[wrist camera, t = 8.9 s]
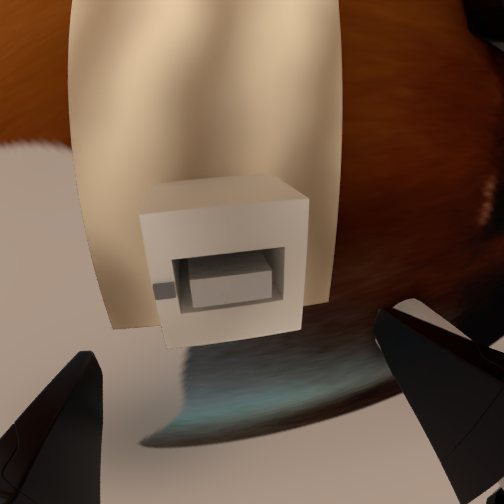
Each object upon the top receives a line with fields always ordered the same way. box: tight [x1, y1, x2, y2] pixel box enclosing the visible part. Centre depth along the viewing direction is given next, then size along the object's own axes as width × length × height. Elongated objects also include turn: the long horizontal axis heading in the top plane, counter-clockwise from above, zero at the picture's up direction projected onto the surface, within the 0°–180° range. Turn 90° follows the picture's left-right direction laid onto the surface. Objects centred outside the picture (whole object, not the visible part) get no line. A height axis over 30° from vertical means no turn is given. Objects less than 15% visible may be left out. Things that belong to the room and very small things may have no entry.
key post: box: [188, 250, 272, 308], centre depth 14 cm, size 3×1×6 cm, turn 91°
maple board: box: [68, 0, 342, 329], centre depth 14 cm, size 14×21×2 cm, turn 1°
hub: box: [139, 174, 309, 349], centre depth 14 cm, size 6×6×5 cm
